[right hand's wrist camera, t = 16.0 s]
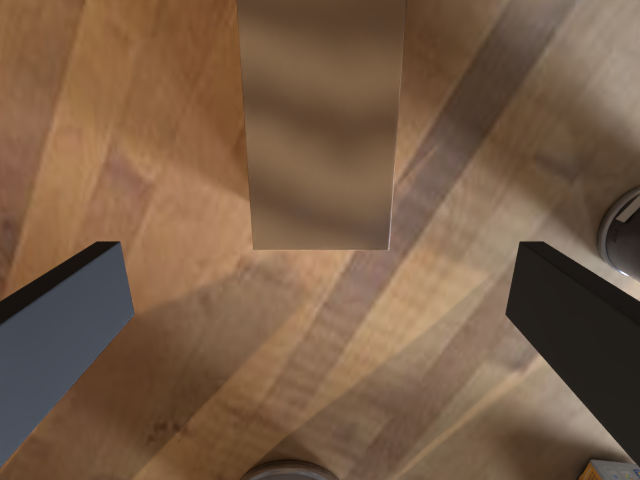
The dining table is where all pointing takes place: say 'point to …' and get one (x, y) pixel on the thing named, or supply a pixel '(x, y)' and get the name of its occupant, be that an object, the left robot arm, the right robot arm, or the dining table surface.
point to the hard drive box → (610, 471)
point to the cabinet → (321, 120)
